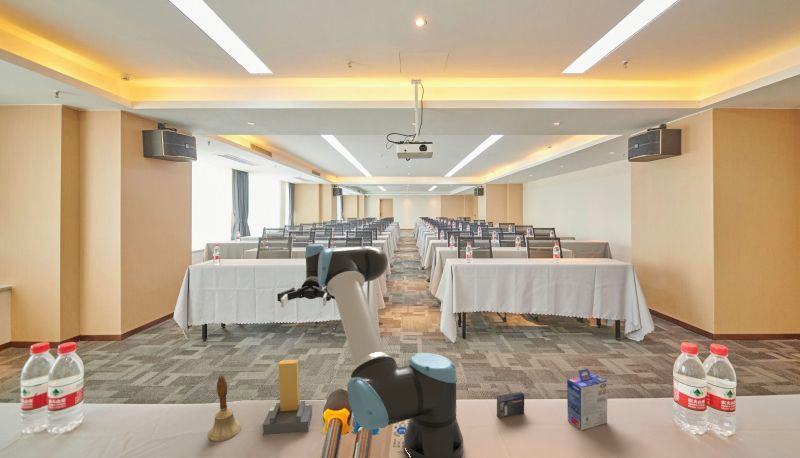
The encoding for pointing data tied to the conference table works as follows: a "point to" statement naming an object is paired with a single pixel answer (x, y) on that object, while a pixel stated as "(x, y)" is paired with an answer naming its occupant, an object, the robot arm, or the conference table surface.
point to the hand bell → (223, 417)
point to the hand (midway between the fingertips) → (303, 302)
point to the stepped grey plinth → (287, 420)
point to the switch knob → (289, 385)
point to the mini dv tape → (510, 404)
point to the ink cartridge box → (587, 400)
